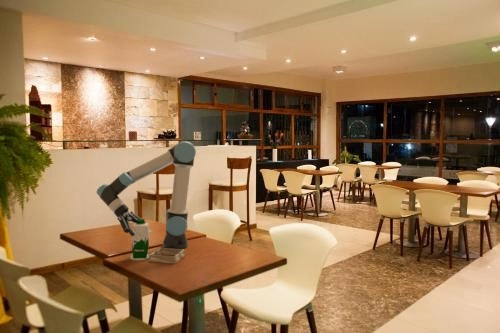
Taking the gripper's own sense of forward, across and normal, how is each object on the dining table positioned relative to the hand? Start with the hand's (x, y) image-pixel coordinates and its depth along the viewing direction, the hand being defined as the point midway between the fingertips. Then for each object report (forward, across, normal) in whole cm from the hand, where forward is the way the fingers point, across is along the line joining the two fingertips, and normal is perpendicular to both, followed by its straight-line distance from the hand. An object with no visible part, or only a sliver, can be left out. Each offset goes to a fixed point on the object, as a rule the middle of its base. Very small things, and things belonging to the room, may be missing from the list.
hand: (144, 236), depth 211 cm
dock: (+17, -2, +1) cm, 17 cm away
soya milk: (+6, 0, -10) cm, 12 cm away
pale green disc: (+7, 0, -10) cm, 12 cm away
